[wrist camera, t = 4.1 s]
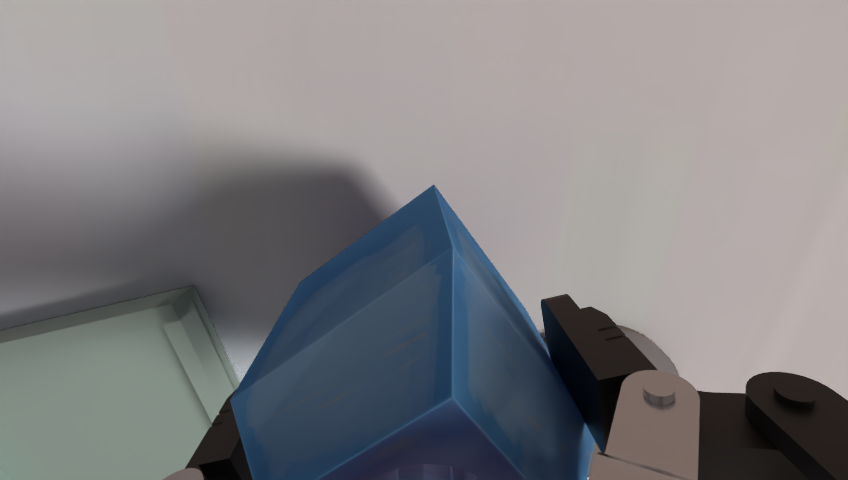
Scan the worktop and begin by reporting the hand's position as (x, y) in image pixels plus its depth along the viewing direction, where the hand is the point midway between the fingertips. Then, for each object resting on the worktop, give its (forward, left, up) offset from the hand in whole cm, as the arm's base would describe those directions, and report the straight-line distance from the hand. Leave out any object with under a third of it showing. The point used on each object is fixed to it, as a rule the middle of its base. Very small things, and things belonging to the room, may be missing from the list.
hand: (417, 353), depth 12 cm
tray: (+4, -17, -7) cm, 19 cm away
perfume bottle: (0, 0, -4) cm, 4 cm away
